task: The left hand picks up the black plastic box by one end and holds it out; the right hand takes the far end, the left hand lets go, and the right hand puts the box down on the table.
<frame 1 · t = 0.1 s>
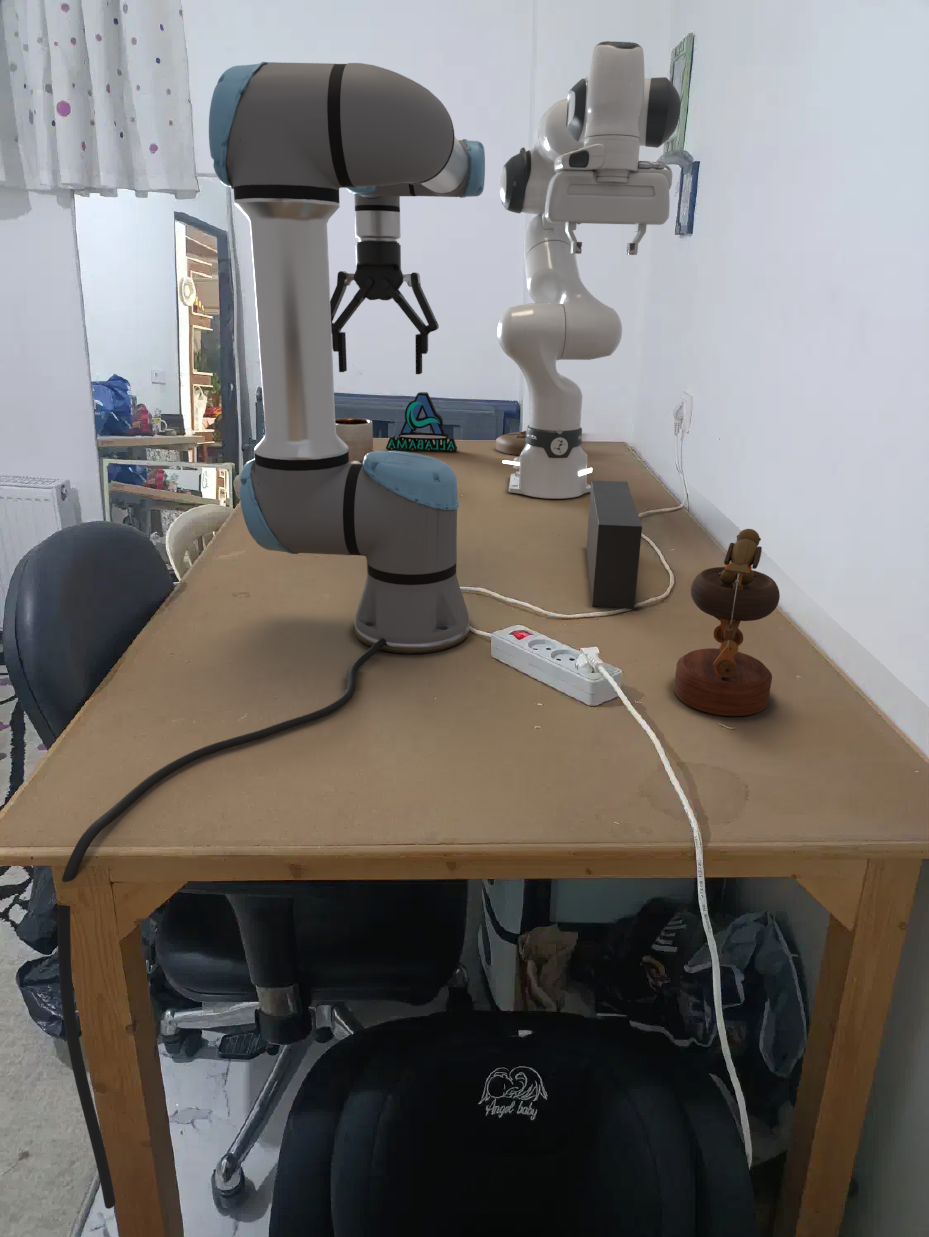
left hand: (380, 372, 149), 28 cm above the table, tool pointing down, fingers open, 13 cm apart
right hand: (603, 254, 140), 48 cm above the table, tool pointing down, fingers open, 8 cm apart
planter: (352, 460, 214), on the table
decorative sign: (421, 450, 227), on the table
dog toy: (391, 483, 191), on the table
box: (607, 576, 135), on the table
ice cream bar: (537, 454, 224), on the table
music box: (718, 692, 98), on the table
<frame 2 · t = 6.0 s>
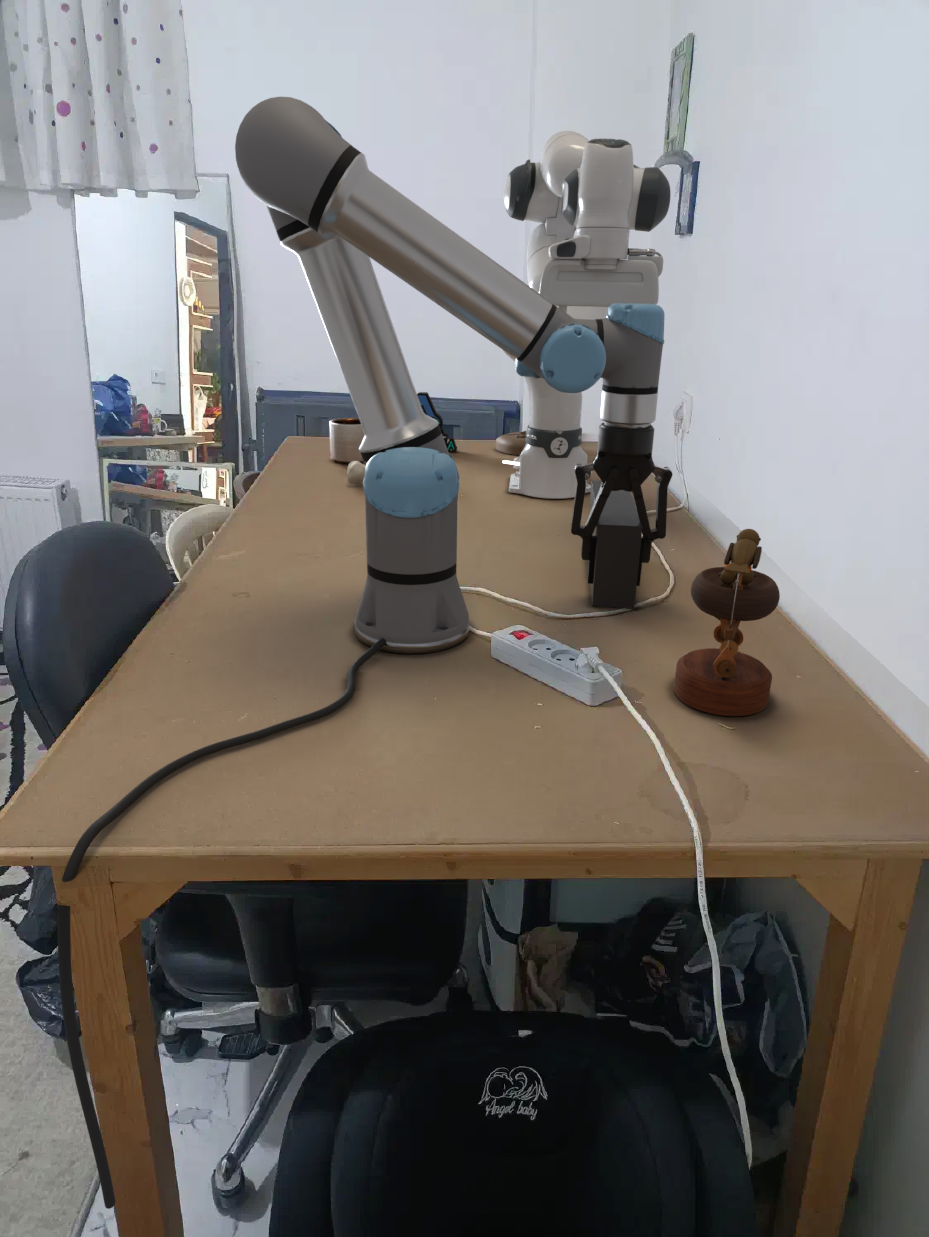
left hand: (613, 581, 125), 3 cm above the table, tool pointing down, fingers closed on box, 6 cm apart
right hand: (595, 335, 147), 35 cm above the table, tool pointing down, fingers open, 8 cm apart
box: (607, 576, 135), on the table, touching left hand
everything else where it was.
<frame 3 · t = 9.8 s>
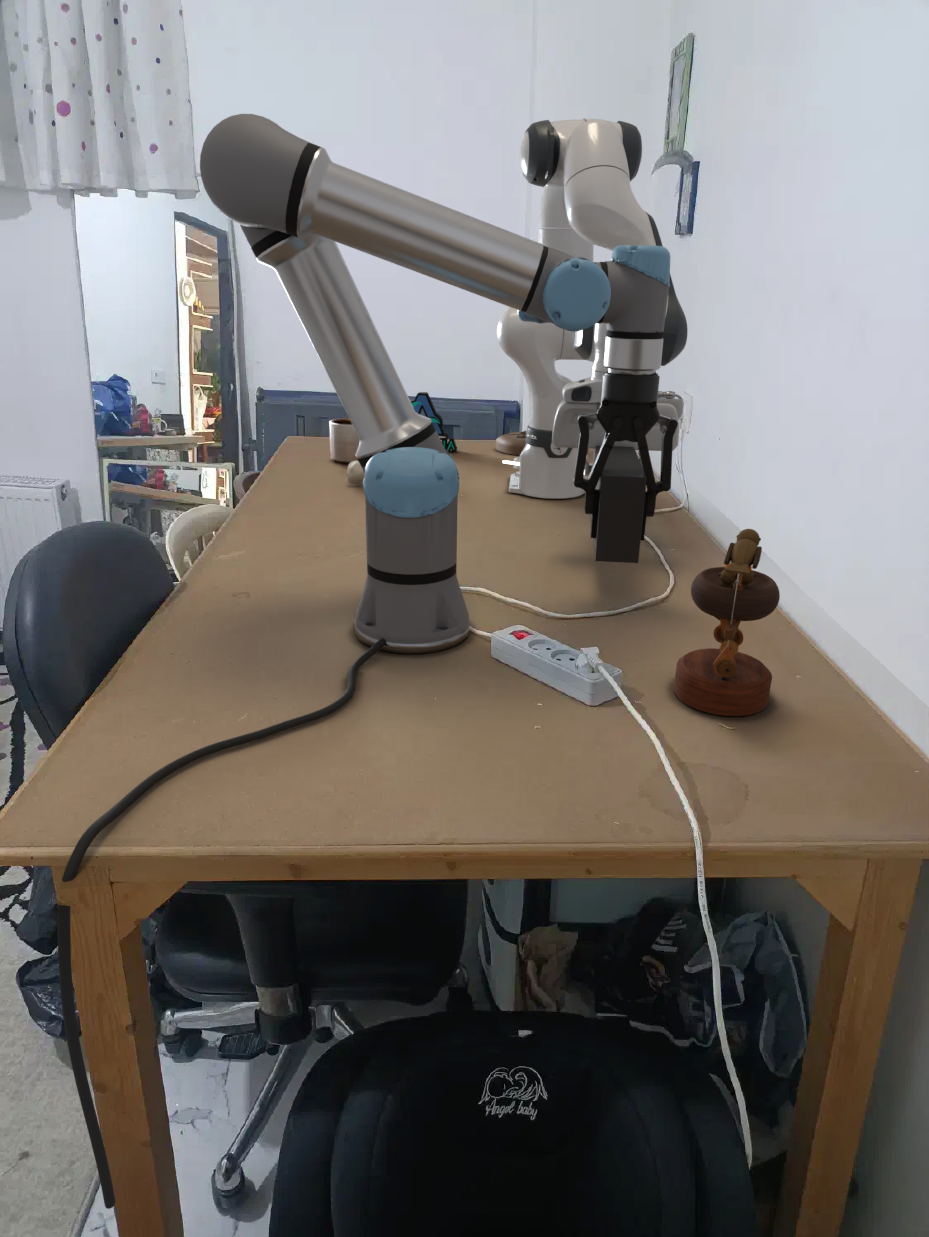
left hand: (616, 536, 122), 10 cm above the table, tool pointing down, fingers closed on box, 6 cm apart
right hand: (611, 476, 139), 14 cm above the table, tool pointing down, fingers closed on box, 6 cm apart
box: (611, 534, 132), point 7 cm above the table, touching left hand, right hand
everything else where it was.
when the left hand's fingers open (10 cm above the table, at t = 10.8 s): box stays where it is, held by the right hand.
when the right hand's fingers open (8 cm above the table, at t = 20.8 s): box stays where it is, on the table.
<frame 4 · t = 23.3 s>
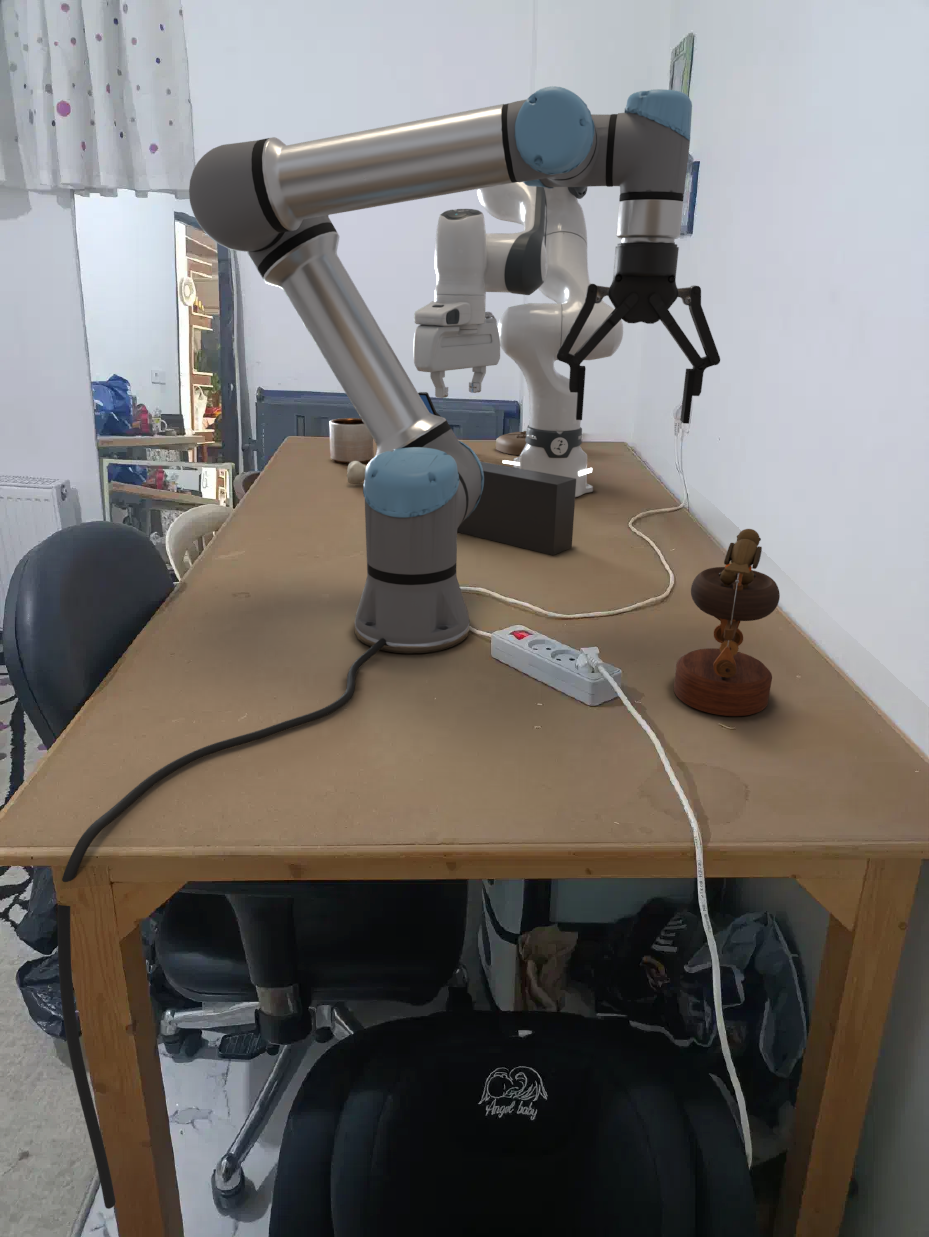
left hand: (631, 420, 110), 27 cm above the table, tool pointing down, fingers open, 13 cm apart
right hand: (458, 395, 151), 24 cm above the table, tool pointing down, fingers open, 8 cm apart
box: (498, 536, 155), on the table
everything else where it was.
at the end: box inside the target area (9.8 cm from its centre), on the table; the left hand is holding nothing; the right hand is holding nothing; box at rest at the end (0.0 cm/s) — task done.
